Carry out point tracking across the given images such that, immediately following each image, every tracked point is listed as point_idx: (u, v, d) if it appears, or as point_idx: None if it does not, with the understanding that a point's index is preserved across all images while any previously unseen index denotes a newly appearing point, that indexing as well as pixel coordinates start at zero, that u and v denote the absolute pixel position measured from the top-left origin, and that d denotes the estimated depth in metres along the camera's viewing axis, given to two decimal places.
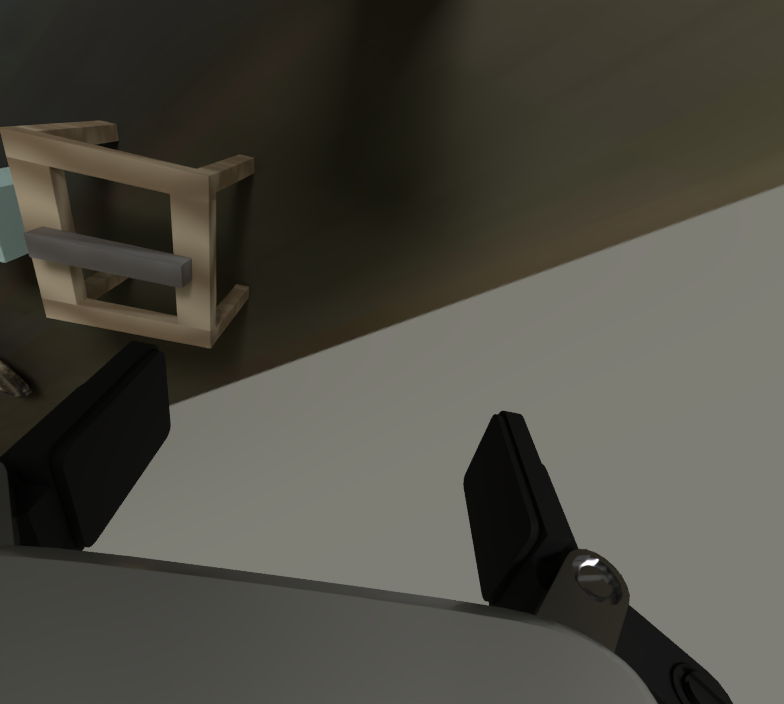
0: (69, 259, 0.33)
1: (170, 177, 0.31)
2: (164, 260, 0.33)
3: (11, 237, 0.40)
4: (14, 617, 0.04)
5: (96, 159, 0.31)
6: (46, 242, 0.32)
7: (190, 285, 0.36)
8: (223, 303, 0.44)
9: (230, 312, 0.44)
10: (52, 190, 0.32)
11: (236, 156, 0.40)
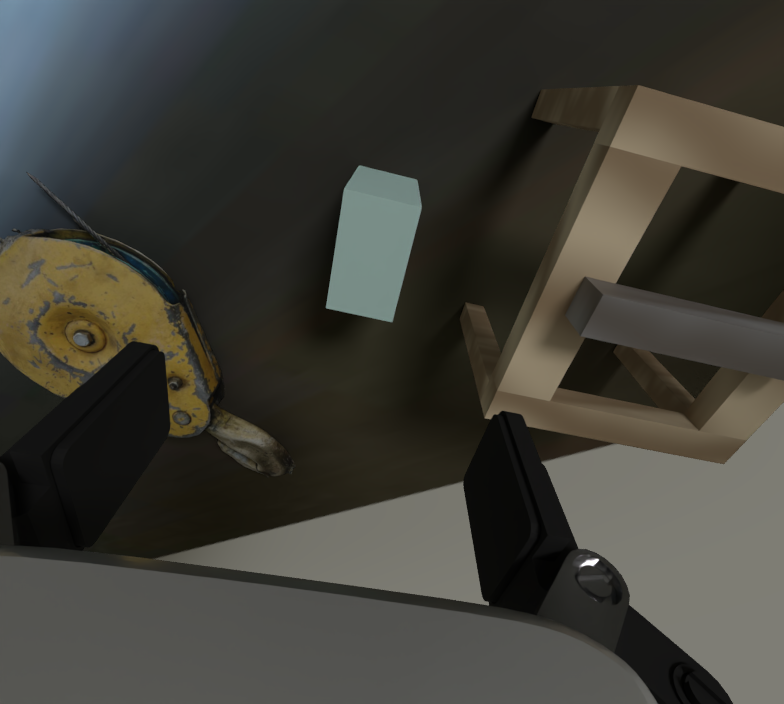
0: (653, 340, 0.18)
1: None
2: None
3: None
4: (14, 617, 0.04)
5: None
6: (634, 312, 0.17)
7: None
8: (660, 375, 0.29)
9: (684, 391, 0.28)
10: (652, 213, 0.17)
11: None
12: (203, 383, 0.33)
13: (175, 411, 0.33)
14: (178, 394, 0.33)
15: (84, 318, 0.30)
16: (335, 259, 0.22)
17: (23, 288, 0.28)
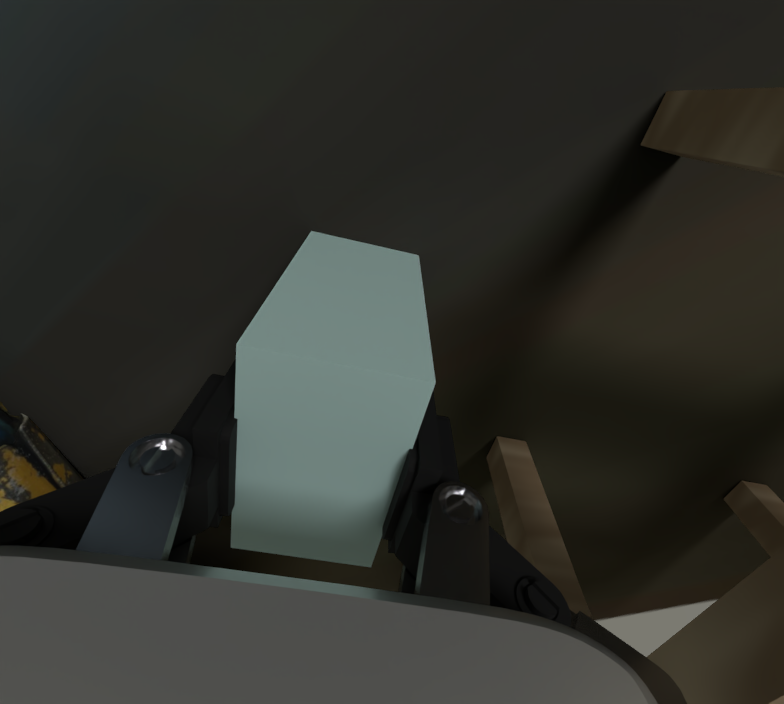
0: None
1: None
2: None
3: None
4: (14, 617, 0.04)
5: None
6: None
7: None
8: None
9: None
10: None
11: None
12: None
13: None
14: None
15: None
16: (237, 474, 0.10)
17: None
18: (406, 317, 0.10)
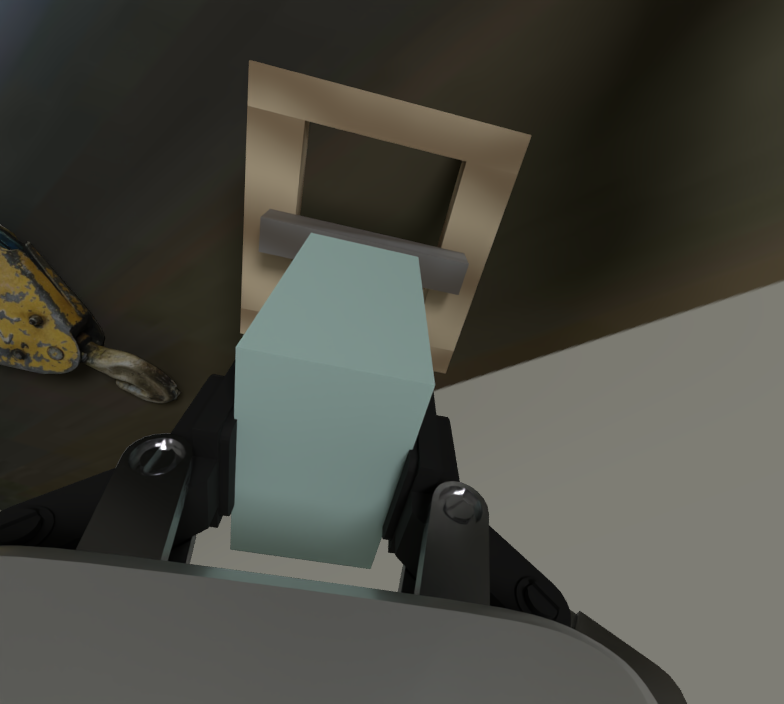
0: None
1: (476, 137, 0.22)
2: (443, 256, 0.24)
3: None
4: (14, 617, 0.04)
5: (378, 109, 0.21)
6: (289, 231, 0.23)
7: None
8: None
9: None
10: (299, 157, 0.23)
11: None
12: (60, 317, 0.38)
13: (48, 348, 0.38)
14: (43, 331, 0.38)
15: None
16: (237, 476, 0.10)
17: None
18: (405, 319, 0.10)
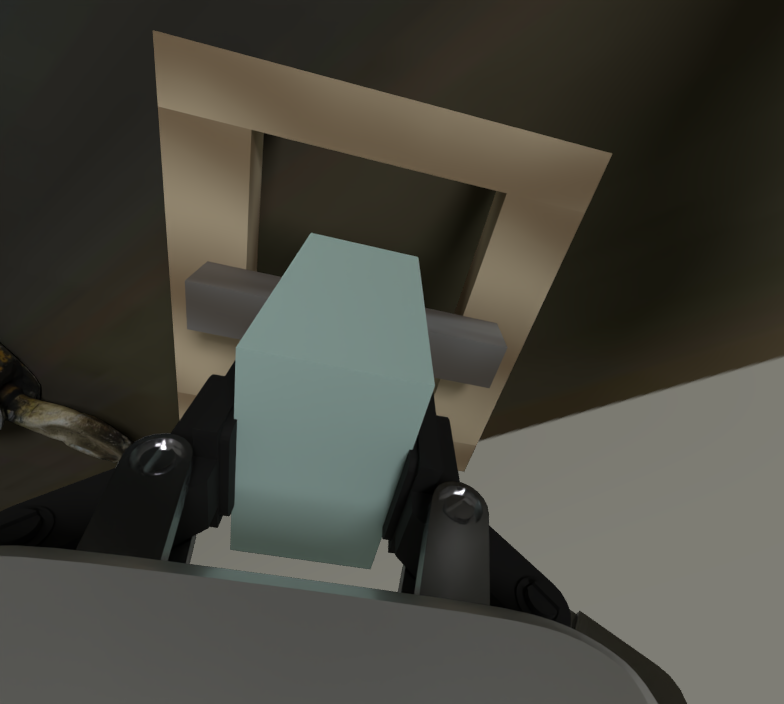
0: None
1: (523, 156, 0.14)
2: (468, 334, 0.16)
3: None
4: (14, 617, 0.04)
5: (368, 112, 0.13)
6: (231, 300, 0.15)
7: None
8: None
9: None
10: (246, 186, 0.14)
11: None
12: None
13: None
14: None
15: None
16: (237, 477, 0.10)
17: None
18: (405, 319, 0.10)
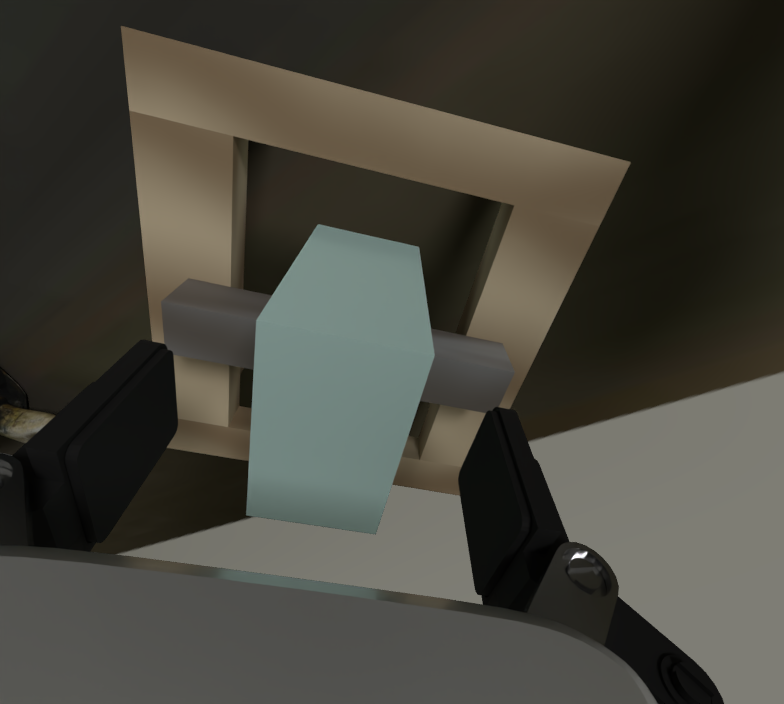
0: None
1: (533, 164, 0.13)
2: (472, 358, 0.14)
3: None
4: (14, 617, 0.04)
5: (362, 117, 0.12)
6: (212, 322, 0.13)
7: None
8: None
9: None
10: (228, 198, 0.13)
11: None
12: None
13: None
14: None
15: None
16: (254, 443, 0.11)
17: None
18: (407, 300, 0.11)
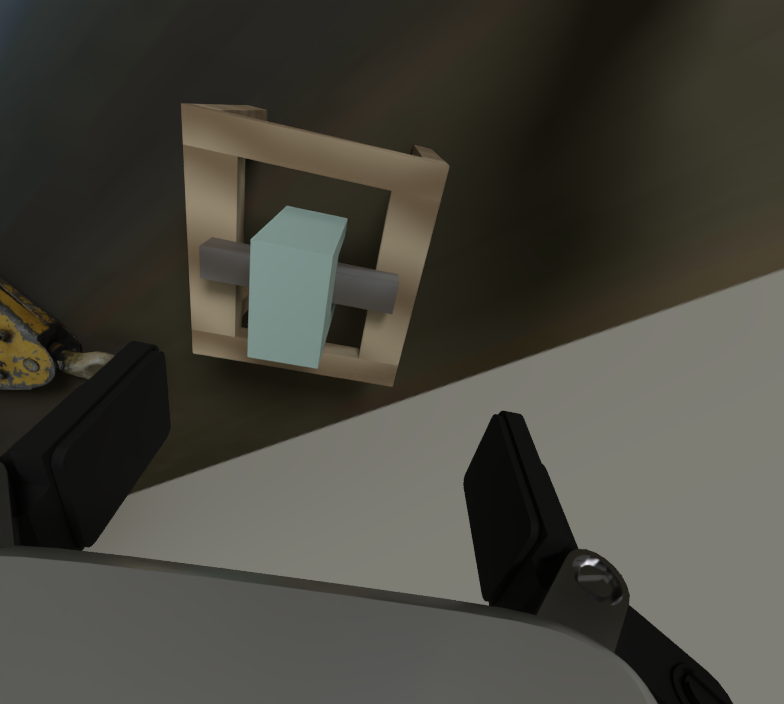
0: None
1: (398, 168, 0.24)
2: (375, 278, 0.25)
3: (325, 325, 0.24)
4: (14, 617, 0.04)
5: (304, 145, 0.23)
6: (227, 258, 0.24)
7: None
8: None
9: None
10: (235, 189, 0.24)
11: (417, 146, 0.32)
12: (24, 327, 0.38)
13: (23, 361, 0.39)
14: (14, 345, 0.39)
15: None
16: (251, 308, 0.21)
17: None
18: (328, 238, 0.22)
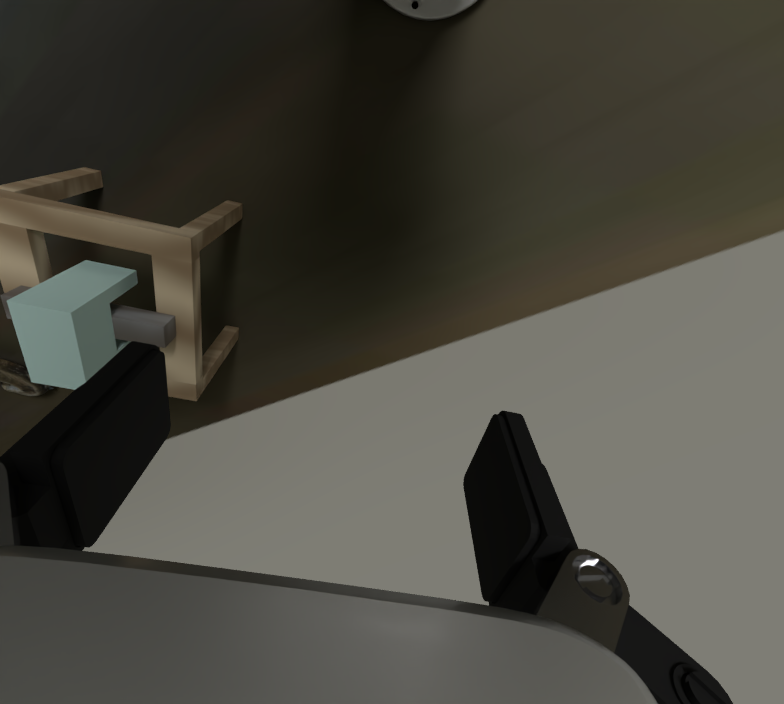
0: None
1: (151, 239, 0.31)
2: (146, 320, 0.32)
3: (95, 358, 0.31)
4: (14, 617, 0.04)
5: (75, 221, 0.30)
6: None
7: (174, 341, 0.35)
8: (211, 349, 0.43)
9: (217, 359, 0.43)
10: (30, 251, 0.31)
11: (223, 204, 0.39)
12: None
13: None
14: None
15: None
16: (22, 348, 0.29)
17: None
18: (87, 294, 0.29)
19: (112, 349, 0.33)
